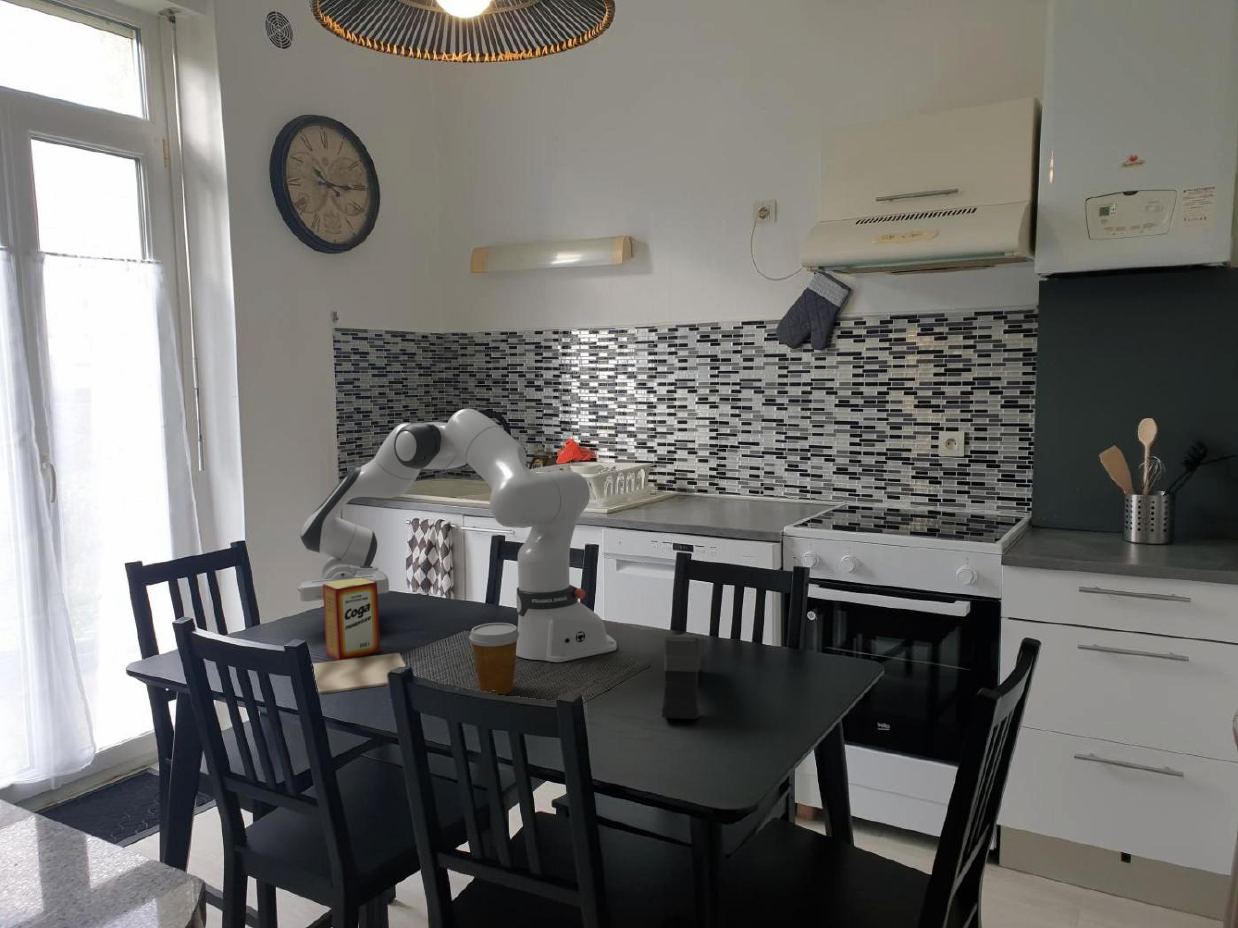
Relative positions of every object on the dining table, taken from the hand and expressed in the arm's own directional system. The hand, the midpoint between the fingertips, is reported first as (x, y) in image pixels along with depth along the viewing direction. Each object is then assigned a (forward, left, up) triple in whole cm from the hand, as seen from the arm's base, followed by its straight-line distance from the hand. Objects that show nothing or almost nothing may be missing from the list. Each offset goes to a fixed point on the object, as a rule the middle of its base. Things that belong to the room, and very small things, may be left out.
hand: (347, 594), depth 213 cm
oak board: (0, +26, -11) cm, 28 cm away
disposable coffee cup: (-23, +48, -11) cm, 54 cm away
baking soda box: (0, +11, -11) cm, 15 cm away
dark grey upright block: (-55, +65, -11) cm, 86 cm away
